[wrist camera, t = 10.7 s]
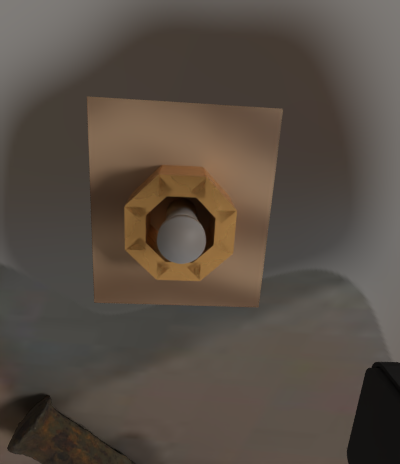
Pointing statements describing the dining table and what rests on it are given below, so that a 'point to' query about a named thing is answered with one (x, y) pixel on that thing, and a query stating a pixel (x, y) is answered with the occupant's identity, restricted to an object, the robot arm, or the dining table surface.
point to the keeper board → (180, 208)
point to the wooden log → (59, 440)
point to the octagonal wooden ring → (145, 235)
